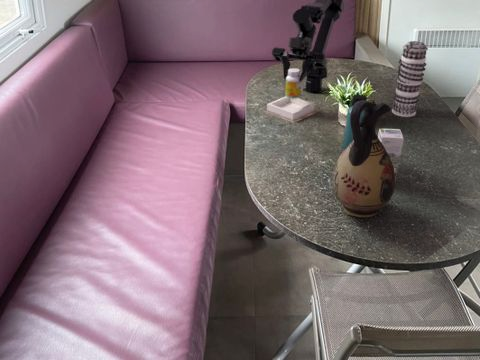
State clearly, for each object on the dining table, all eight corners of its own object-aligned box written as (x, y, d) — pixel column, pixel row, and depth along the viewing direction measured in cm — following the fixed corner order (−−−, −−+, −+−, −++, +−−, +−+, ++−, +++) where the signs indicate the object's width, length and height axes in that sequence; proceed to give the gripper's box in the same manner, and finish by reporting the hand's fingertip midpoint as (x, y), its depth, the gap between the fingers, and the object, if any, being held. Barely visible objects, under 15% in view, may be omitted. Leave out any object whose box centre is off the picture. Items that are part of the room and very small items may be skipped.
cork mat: (288, 101, 191) (288, 100, 191) (318, 112, 182) (318, 111, 182) (263, 112, 182) (263, 111, 182) (294, 124, 174) (294, 122, 174)
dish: (288, 102, 189) (288, 95, 187) (313, 111, 182) (314, 103, 180) (266, 111, 182) (267, 104, 180) (292, 121, 175) (293, 113, 173)
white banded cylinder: (389, 115, 180) (401, 45, 167) (391, 105, 187) (402, 38, 174) (416, 118, 177) (430, 48, 164) (417, 108, 185) (430, 40, 172)
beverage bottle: (363, 164, 150) (372, 101, 139) (340, 162, 151) (348, 99, 141) (363, 154, 155) (372, 92, 145) (341, 152, 157) (348, 91, 146)
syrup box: (392, 173, 145) (400, 127, 138) (395, 184, 140) (404, 137, 133) (371, 172, 146) (379, 127, 138) (374, 183, 141) (382, 136, 133)
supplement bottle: (282, 96, 178) (282, 70, 173) (292, 92, 181) (293, 66, 176) (293, 100, 175) (294, 73, 170) (303, 96, 178) (305, 69, 173)
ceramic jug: (354, 185, 140) (369, 82, 124) (402, 209, 130) (424, 100, 114) (312, 207, 131) (322, 99, 115) (359, 235, 121) (377, 121, 105)
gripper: (274, 23, 172) (260, 65, 170) (327, 30, 165) (314, 73, 163) (281, 40, 182) (269, 79, 180) (332, 46, 175) (319, 87, 173)
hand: (292, 79), depth 173 cm, fingers closed on supplement bottle, 5 cm apart
